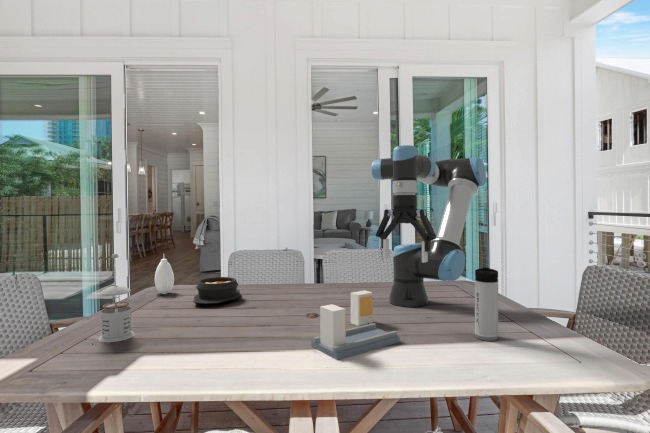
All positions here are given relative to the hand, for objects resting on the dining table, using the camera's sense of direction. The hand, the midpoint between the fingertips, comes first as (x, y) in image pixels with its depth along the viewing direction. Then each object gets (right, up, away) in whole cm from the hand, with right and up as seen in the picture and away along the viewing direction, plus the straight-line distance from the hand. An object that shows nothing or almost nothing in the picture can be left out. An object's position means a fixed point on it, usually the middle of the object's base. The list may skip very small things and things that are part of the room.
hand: (404, 260), depth 128 cm
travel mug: (+21, -21, -13) cm, 33 cm away
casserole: (-70, -21, +35) cm, 81 cm away
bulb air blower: (-97, -20, +48) cm, 110 cm away
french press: (-89, -22, -8) cm, 92 cm away
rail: (-17, -22, -17) cm, 32 cm away
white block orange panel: (-13, -21, +2) cm, 25 cm away
